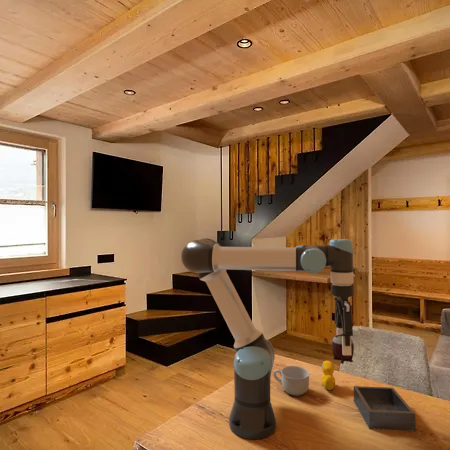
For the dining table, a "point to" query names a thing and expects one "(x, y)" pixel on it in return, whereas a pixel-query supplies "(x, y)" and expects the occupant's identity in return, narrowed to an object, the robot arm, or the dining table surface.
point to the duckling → (328, 375)
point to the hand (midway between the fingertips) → (344, 350)
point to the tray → (384, 408)
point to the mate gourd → (338, 349)
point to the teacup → (293, 379)
